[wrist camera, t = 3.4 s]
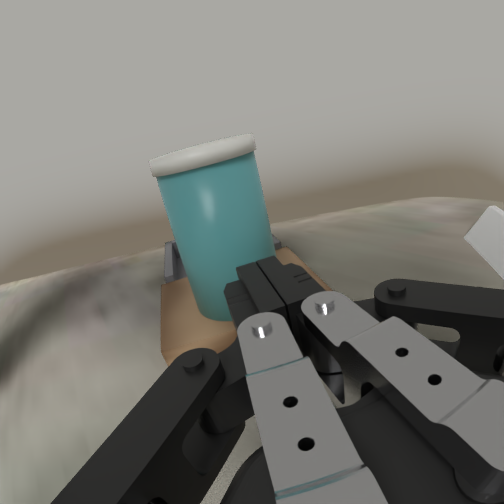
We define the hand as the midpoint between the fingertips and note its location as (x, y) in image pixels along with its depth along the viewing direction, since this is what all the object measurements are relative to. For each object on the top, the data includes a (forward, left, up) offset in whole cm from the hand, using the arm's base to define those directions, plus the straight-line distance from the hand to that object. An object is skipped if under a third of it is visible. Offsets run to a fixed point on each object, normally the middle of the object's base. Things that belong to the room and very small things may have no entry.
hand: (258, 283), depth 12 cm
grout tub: (0, +10, -6) cm, 12 cm away
